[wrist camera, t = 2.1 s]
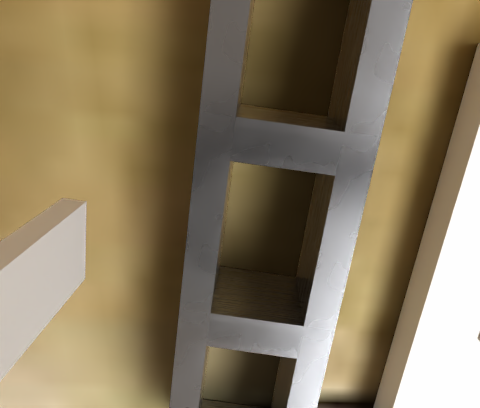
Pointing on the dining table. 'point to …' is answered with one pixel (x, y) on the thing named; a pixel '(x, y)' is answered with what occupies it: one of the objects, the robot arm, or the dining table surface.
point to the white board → (444, 284)
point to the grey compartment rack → (320, 211)
